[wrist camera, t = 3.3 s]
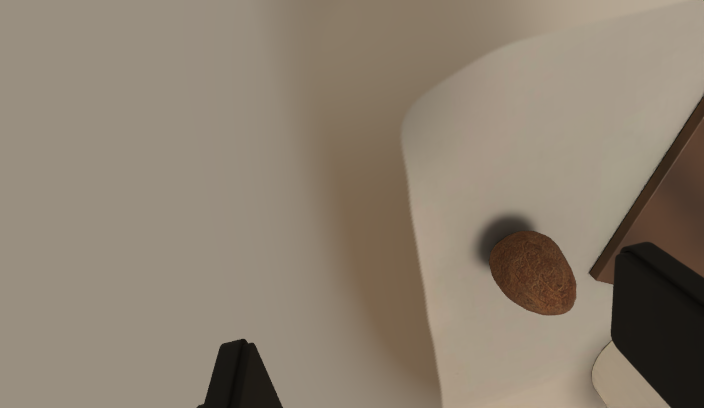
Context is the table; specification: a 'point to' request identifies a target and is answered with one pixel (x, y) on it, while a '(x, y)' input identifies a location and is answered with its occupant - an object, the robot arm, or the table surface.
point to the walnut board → (668, 206)
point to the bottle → (622, 382)
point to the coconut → (533, 273)
